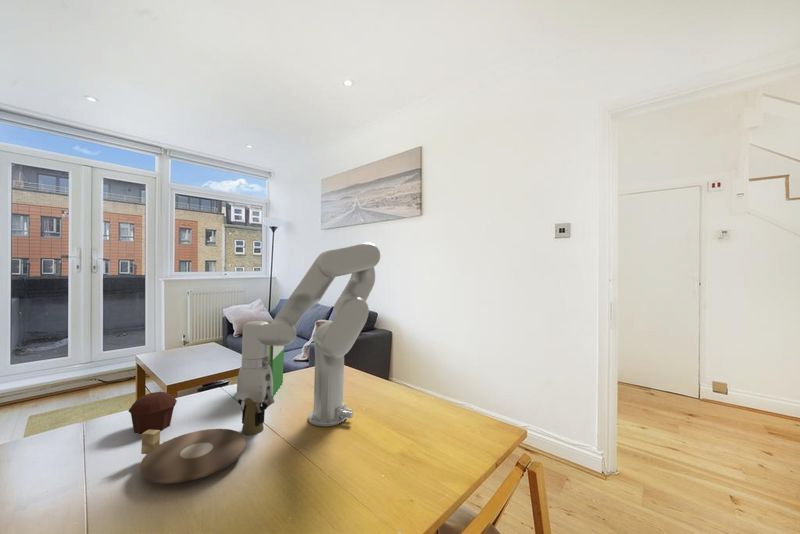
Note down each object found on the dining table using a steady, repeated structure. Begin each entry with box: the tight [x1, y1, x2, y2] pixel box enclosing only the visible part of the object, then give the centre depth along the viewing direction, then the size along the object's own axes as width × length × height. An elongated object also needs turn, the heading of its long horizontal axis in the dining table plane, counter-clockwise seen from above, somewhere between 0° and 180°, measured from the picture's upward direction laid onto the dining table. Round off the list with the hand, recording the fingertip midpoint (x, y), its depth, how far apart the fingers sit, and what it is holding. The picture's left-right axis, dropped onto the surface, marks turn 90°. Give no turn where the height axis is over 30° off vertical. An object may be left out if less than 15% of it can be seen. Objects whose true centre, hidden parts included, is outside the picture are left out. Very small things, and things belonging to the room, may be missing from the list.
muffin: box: [128, 391, 178, 435], centre depth 96 cm, size 12×11×10 cm
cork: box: [241, 398, 265, 436], centre depth 96 cm, size 6×6×11 cm
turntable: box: [139, 428, 247, 484], centre depth 79 cm, size 23×22×5 cm
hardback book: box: [268, 345, 285, 398], centre depth 127 cm, size 18×7×24 cm, turn 7°
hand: (253, 422), depth 96 cm, fingers closed on cork, 4 cm apart
